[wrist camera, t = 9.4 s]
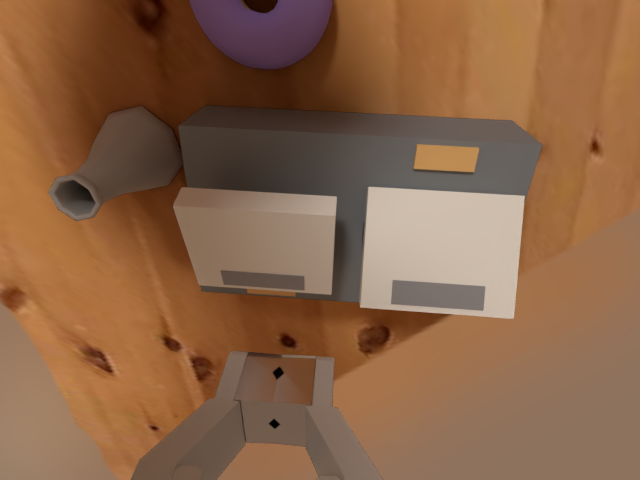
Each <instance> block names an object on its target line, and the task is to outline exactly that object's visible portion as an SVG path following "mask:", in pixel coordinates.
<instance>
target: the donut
mask: <svg viewBox="0 0 640 480" xmlns="http://www.w3.org/2000/svg"><path fill="white" fill-rule="evenodd" d="M189 2H190V5H191V8H192V10H193V13H194V15H195V17H196V20H197V22H198V23H199V25H200V27H201V28H202V30H203V32H204V33H205V34H206V36H207V37H208V39H209V40H210V41H211V42H212V43H213V44H214V45H215V46H216V47H217V48H218V49H219V50H220V51H222V52H223V53H224V54H225V55H226V56H228V57H229V58H231V59H232V60H234V61H236V62H238V63H240V64H242V65H244V66H246V67H250V68H258V69H263V70H266V69H280V68H284V67H287V66H290V65H292V64H294V63H296V62H298V61H299V60H301V59H303V58H304V57H305V56H307V55H308V54H309V53H310V52H311V51H312V50H313V49H314V48H315V46H316V45H317V44H318V43H319V41H320V40H321V38H322V35H323V33H324V31H325V29H326V27H327V25H328V21H329V18H330V14H331V10H332V4H333V0H278V2H277V4H276V6H275V8H274V9H273V10H271V11H270V12H268V13H259V12H256V11H252V10H251V9H250V8H248V7H247V6H246V4H245V2H244V1H243V0H189Z"/></svg>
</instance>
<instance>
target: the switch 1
mask: <svg viewBox="0 0 640 480" xmlns="http://www.w3.org/2000/svg"><path fill="white" fill-rule="evenodd" d="M336 205H337V197H336V196H320V195H303V194H287V193H270V192H253V191H237V190H220V189H204V188H187V187H181V189H180V191H179V194H178V196H177V198H176V200H175V202H174V204H173V209H174V212H175V215H176V218H177V221H178V224H179V227H180V230H181V233H182V236H183V239H184V242H185V245H186V248H187V251H188V254H189V257H190V260H191V263H192V266H193V269H194V272H195V275H196V278H197V281H198V284H199V285H202V286H216V287H230V288H244V289H258V290H272V291H286V292H300V293H314V294H328V295H331V293H332V280H333V263H334V244H335V224H336Z"/></svg>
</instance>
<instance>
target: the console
mask: <svg viewBox="0 0 640 480" xmlns="http://www.w3.org/2000/svg"><path fill="white" fill-rule="evenodd" d="M178 129H179V136H180V143H181V150H182V157H183V164H184V171H185V178H186V185H187V188H204V189H220V190H237V191H253V192H270V193H287V194H303V195H320V196H336V197H337V205H336V224H335V244H334V263H333V280H332V293H331V295H328V294H314V293H300V292H286V291H272V290H258V289H244V288H230V287H216V286H202V285H201V291H204V292H218V293H232V294H246V295H260V296H273V297H287V298H301V299H315V300H329V301H343V302H356V303H359V296H360V281H361V266H362V252H363V237H364V223H365V208H366V193H367V188H368V187H383V188H400V189H417V190H434V191H451V192H468V193H485V194H502V195H519V196H525V198H524V203H525V200H526V196H527V193H528V190H529V187H530V183H531V180H532V177H533V174H534V171H535V167H536V164H537V161H538V158H539V155H540V151H541V148H542V144H541V143H540V142H538V141H537V140H536V139H535V138H533V137H532V136H531V135H530V134H528V133H527V132H526V131H525V130H523V129H522V128H521V127H520V126H518V125H517V124H516V123H515V122H513V121H509V120H489V119H469V118H449V117H429V116H410V115H390V114H370V113H350V112H330V111H310V110H291V109H271V108H251V107H231V106H211V105H205V106H204V107H203V108H201V109H200V110H198V111H197V112H196V113H194V114H193V115H192V116H190V117H189V118H188V119H186V120H185V121H183V122H182V123H181V124H179V125H178Z"/></svg>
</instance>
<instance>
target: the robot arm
mask: <svg viewBox="0 0 640 480" xmlns="http://www.w3.org/2000/svg"><path fill="white" fill-rule="evenodd" d="M333 382H334V357H319V356H317V358H316V356H305V355H285V354H283V355H277V354H266V353H255V352H241V351H231V352H230V354H229V355H228V358H227V361H226V364H225V367H224V370H223V373H222V376H221V379H220V382H219V385H218V388H217V391H216V395H215V398H214V399H208V400H207V401H206V402H205V403H204V404H202V405H201V406H200V407H199V408H198V409H197V410H196V411H194V412H193V413H192V414H191V415H190V416H189V417H188V418H187V419H185V420H184V421H183V422H182V423H181V424H180V425H179V426H177V427H176V428H175V429H174V430H173V431H172V432H171V433H170V434H168V435H167V436H166V437H165V438H164V439H163V440H162V441H160V442H159V443H158V444H157V445H156V446H155V447H154V448H152V449H151V450H150V451H149V452H148V453H147V454H146V455H145V456H143V457H142V458H141V459H140V460H139V462H138V464H137V467H136V469H135V471H134V473H133V476H132V478H131V480H217V479H218V477H219V476H220V475H221V474H222V473H223V471H224V470H225V469H226V468H227V466H228V465H229V464H230V463H231V461H232V460H233V459H234V458H235V457H236V455H237V454H238V453H239V452H240V450H241V449H242V448H243V447H244V445H245V442H249V443H250V442H251V443H274V444H275V443H276V444H284V445H295V446H304V447H306V450H307V452H308V454H309V456H310V458H311V461H312V463H313V465H314V467H315V469H316V472H317V474H318V476H319V477H318V478H317V479H316V480H383V479H382V477H381V476H380V474H379V472H378V471H377V469H376V468H375V466H374V464H373V463H372V461H371V460H370V458H369V457H368V455H367V453H366V452H365V450H364V449H363V447H362V446H361V444H360V442H359V441H358V439H357V438H356V436H355V435H354V433H353V431H352V430H351V428H350V427H349V425H348V423H347V422H346V420H345V419H344V417H343V415H342V414H341V412H340V411H339V409H338V408H336V407H332V403H333Z"/></svg>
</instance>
